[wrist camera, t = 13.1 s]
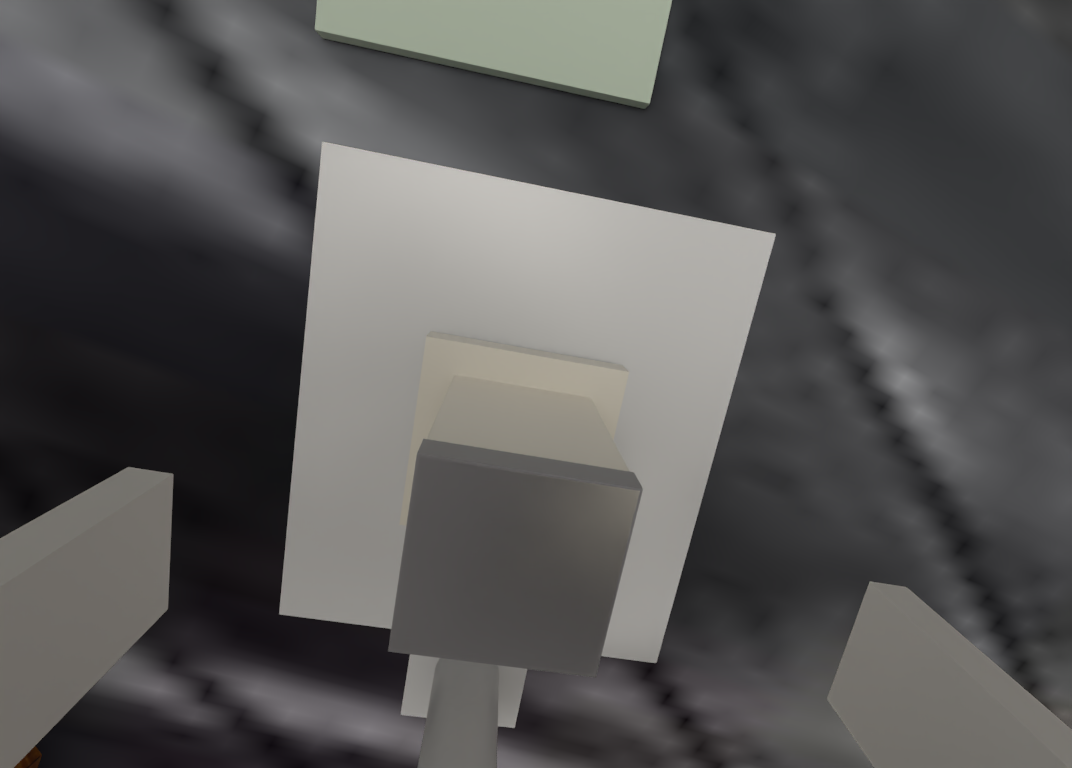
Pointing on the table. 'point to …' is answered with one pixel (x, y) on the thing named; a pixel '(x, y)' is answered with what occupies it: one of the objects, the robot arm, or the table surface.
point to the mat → (517, 39)
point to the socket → (513, 319)
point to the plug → (513, 508)
